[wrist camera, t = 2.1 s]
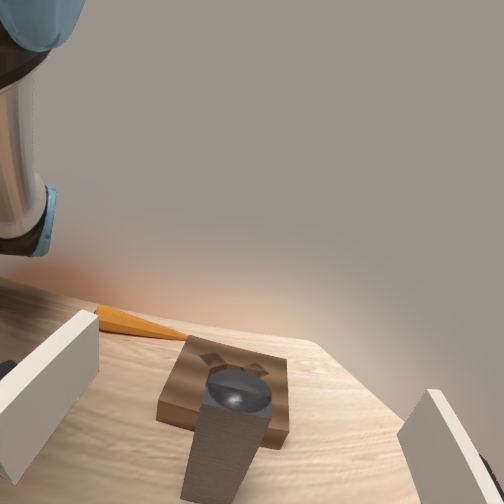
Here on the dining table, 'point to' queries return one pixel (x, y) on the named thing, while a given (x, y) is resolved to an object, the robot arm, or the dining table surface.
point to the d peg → (226, 435)
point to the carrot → (133, 325)
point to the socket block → (209, 362)
